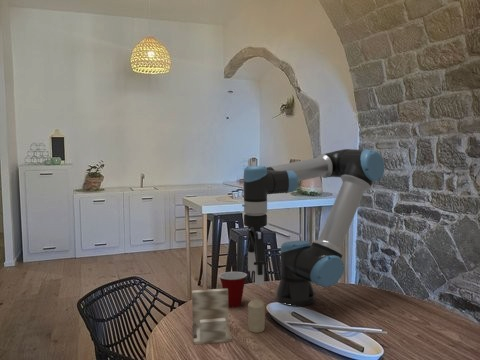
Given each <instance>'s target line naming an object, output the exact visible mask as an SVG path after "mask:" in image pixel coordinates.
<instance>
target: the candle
mask: <svg viewBox="0 0 480 360" xmlns="http://www.w3.org/2000/svg"><path fill="white" fill-rule="evenodd" d="M247 303H248V304H247V319H248V320H247V327H248V328H247V329H248V331H249V332H251V333H256V334H257V333H263V332H264V331H265V326H266V325H265V324H266V323H265V322H266V321H265V316H266V313H265V312H266V311H265V307H266V306H265V302H263V301H262V300H261V299H260V298H254V299H251V300H250V301H249V302H247Z"/></svg>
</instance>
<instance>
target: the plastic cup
mask: <svg viewBox="0 0 480 360" xmlns="http://www.w3.org/2000/svg"><path fill="white" fill-rule="evenodd" d="M247 276H248V275H247V273H245V272H242V271H225V272H221V273H220V274H218V277H219V279H220V282H221V287H222V289H225V288H228V308H238V307H240V306H241V304H242V300H243V296H244V295H243V294H244V289H245V283H246V279H247Z"/></svg>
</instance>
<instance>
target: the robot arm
mask: <svg viewBox="0 0 480 360" xmlns="http://www.w3.org/2000/svg"><path fill="white" fill-rule="evenodd" d="M384 173H385V162H384V157H383V156H382V155H381V153H380V152H379V151H377V150H374V149H367V148H364V149H356V148H355V149H353V148H352V149H351V148H344V149H340V150H339V149H338V150H333V151H330V152H326V153H323V154H319V155H318V156H317V157H315V158H309V159H304V160H298V161H294V162H293V161H292V162H288V163H283V164H282V163H281V164H278V165H272V166H268V167H267V166H265V165H264V166H263V165H248V166H245V168H244V169H243V203H242V204H241V206H242V207H243V212H244V214H243V225H244V226H245V227H247V228H248V229H247V230H248V231H247V242H246V249H247V251H248V252H247V272H254V285H255V286H256V285H257V286H258V285H259V286H260V285H265V265H266V256H265V255H266V254H265V252H266V251H265V244H264V243H265V241H264V231H262V230H261V228H263V227H264V228H265V227H266V226H267V225H268V215H267V213H268V195H277V194H278V195H279V194H289V193H293V192H296V190H297V188H298V186H299V182H301V181H306V180H311V179H314V178H315V179H316V178H319V177H321V178H324V179H327V178H341V182H342V184H341V186H340V188H339V190H338V194H337V195H336V197H335V200H334V203H333V205H332V207H331V209H330V212H329V214H328V217H327V218H326V220H325V223H324V225H323V229H322V230H321V233H320V235H319V236H318V239H316V240H314V241H312V243H311V241H308V240H290V241H285V242H283V243H282V244H281V246H280V253H279V254H280V281H279V283H278V287H277V290H276V295H275V296H276V298H275V299H276V300H277V302H279V303H281V304H282V303H286V304H291V305H296V306H295V307H304V306H309V305H312V304H314V302H315V301H316V294H315V291H314V288H313V284H314V285H317V286H321V287H325V288H326V287H327V288H329V287H331V286H334V285H335V284H337V283H338V282H339V281H340V280H341V278H342V276H343V275H344V271H345V270H344V269H345V266H344V265H345V264H344V261H343V260H342V257H343V255H344V254H343V253H342V249H341V248H342V247H343V244H344V241H345V240H346V237H347V235H348V232H349V229H350V227H351V225H352V222H353V219H354V217H355V215H356V212H357V210H358V208H359V205H360V202H361V201H362V198H363V196H364V194H365V192H366V191H368V190H370V189H371V188H372V186H373V183H375V182H378V181H381V179H382V178H383V176H384ZM312 283H313V284H312Z"/></svg>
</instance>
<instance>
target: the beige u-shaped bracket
mask: <svg viewBox="0 0 480 360" xmlns="http://www.w3.org/2000/svg"><path fill="white" fill-rule="evenodd" d="M191 294H192V295H191V301H192V302H191V305H192V308H191V309H192V310H191V312H192V332H193V333H192V335H193V345H201V344H212V343H213V344H214V343H215V344H216V343H226V342H227V343H228V342H233V336H232V333H231V329H230V325H229V324H230V323H229V320H230V319H229V318H230V317H229V314H230V313H229V307H228V288H225V289H223V288H212V289H209V288H208V289H196V290H191Z"/></svg>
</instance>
